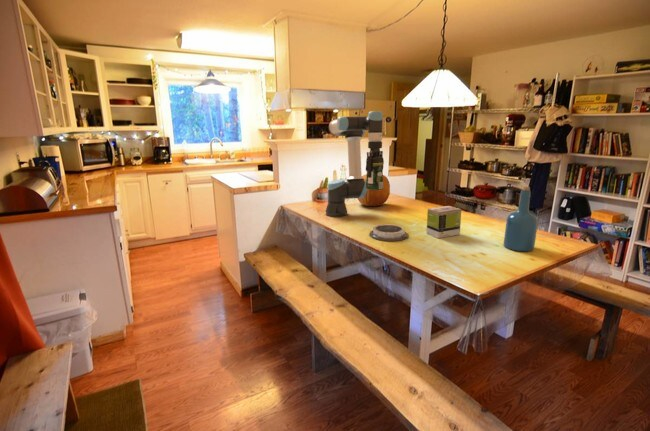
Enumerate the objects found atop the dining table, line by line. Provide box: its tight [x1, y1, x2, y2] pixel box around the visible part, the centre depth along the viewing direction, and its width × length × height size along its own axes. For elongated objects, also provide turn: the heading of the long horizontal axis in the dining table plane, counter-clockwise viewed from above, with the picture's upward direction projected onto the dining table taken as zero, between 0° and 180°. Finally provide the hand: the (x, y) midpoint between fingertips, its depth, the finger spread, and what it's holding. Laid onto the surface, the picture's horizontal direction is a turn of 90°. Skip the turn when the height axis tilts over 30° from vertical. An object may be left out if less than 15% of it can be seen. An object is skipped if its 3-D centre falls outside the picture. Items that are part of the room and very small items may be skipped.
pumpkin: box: [356, 173, 391, 207], centre depth 254 cm, size 26×23×30 cm
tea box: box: [426, 205, 462, 239], centre depth 184 cm, size 15×10×15 cm, turn 111°
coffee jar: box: [365, 156, 385, 190], centre depth 187 cm, size 10×8×19 cm
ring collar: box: [368, 223, 409, 242], centre depth 186 cm, size 21×21×4 cm
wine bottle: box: [503, 185, 539, 252], centre depth 160 cm, size 14×13×30 cm
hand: (374, 182), depth 188 cm, fingers closed on coffee jar, 8 cm apart
